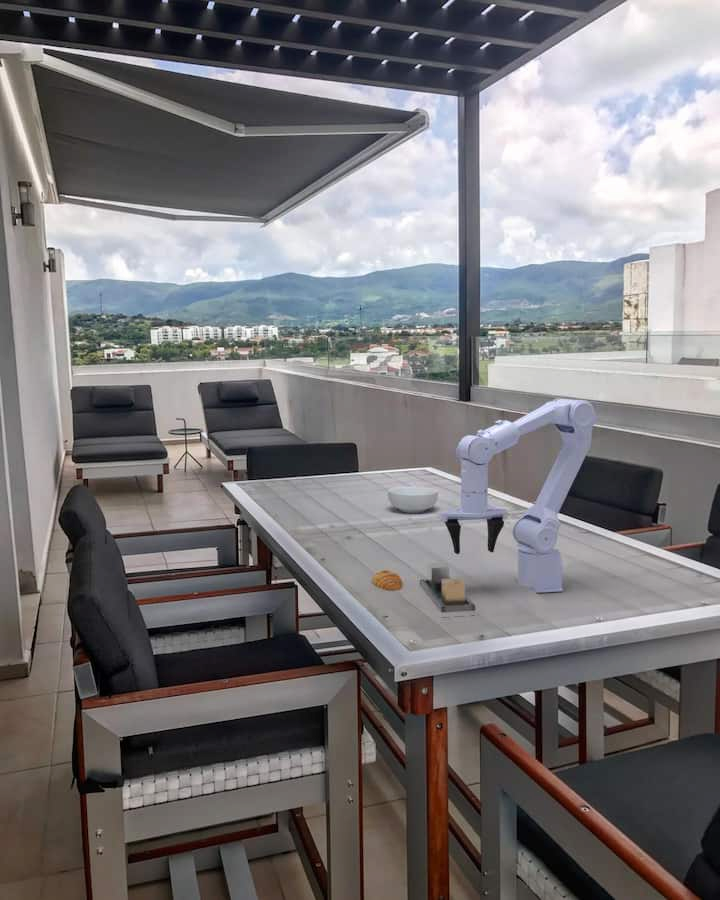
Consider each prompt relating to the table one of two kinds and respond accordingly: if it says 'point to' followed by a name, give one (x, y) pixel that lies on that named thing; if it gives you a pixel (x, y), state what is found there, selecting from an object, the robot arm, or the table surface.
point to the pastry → (387, 580)
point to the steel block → (437, 575)
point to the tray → (438, 601)
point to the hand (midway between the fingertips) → (473, 552)
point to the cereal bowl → (412, 498)
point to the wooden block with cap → (453, 592)
